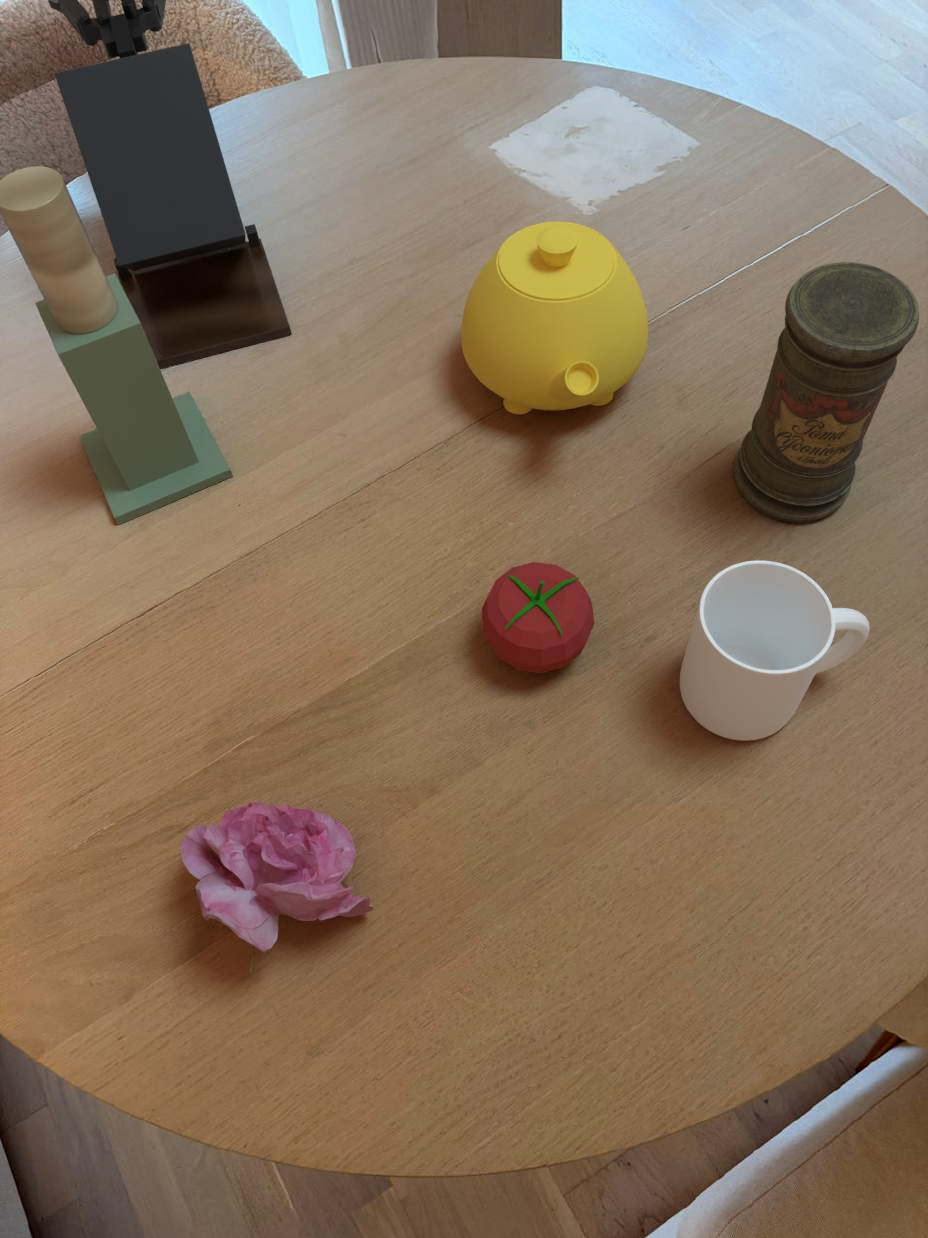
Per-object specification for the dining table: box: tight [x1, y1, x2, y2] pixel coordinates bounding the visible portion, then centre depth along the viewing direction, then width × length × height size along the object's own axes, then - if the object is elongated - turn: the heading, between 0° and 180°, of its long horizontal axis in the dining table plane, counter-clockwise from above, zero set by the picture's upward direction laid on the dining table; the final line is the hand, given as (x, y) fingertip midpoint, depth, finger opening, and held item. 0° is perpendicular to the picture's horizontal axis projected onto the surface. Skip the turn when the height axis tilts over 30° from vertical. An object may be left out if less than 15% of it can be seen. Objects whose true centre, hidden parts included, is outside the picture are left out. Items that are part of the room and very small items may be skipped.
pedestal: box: [34, 273, 234, 525], centre depth 78 cm, size 10×10×16 cm
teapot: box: [460, 220, 649, 415], centre depth 81 cm, size 20×16×14 cm
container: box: [733, 261, 920, 524], centre depth 73 cm, size 9×9×18 cm
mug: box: [679, 559, 871, 742], centre depth 67 cm, size 12×8×10 cm
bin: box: [54, 42, 247, 271], centre depth 89 cm, size 11×11×15 cm
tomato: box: [481, 561, 595, 674], centre depth 71 cm, size 8×8×8 cm
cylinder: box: [0, 165, 118, 334], centre depth 67 cm, size 4×4×10 cm
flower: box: [180, 801, 374, 974], centre depth 62 cm, size 11×10×10 cm
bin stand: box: [113, 223, 293, 370], centre depth 94 cm, size 13×14×3 cm
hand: (131, 65), depth 92 cm, fingers closed
